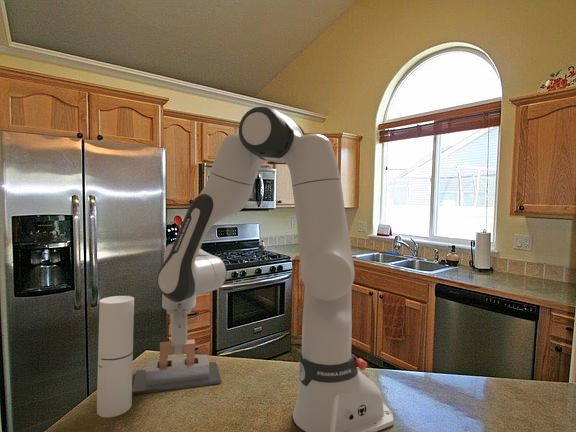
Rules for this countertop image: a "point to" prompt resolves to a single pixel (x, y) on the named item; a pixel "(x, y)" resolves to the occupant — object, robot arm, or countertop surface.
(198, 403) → the countertop surface
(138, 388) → the grey slotted holder
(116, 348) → the cylindrical container
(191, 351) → the clip
